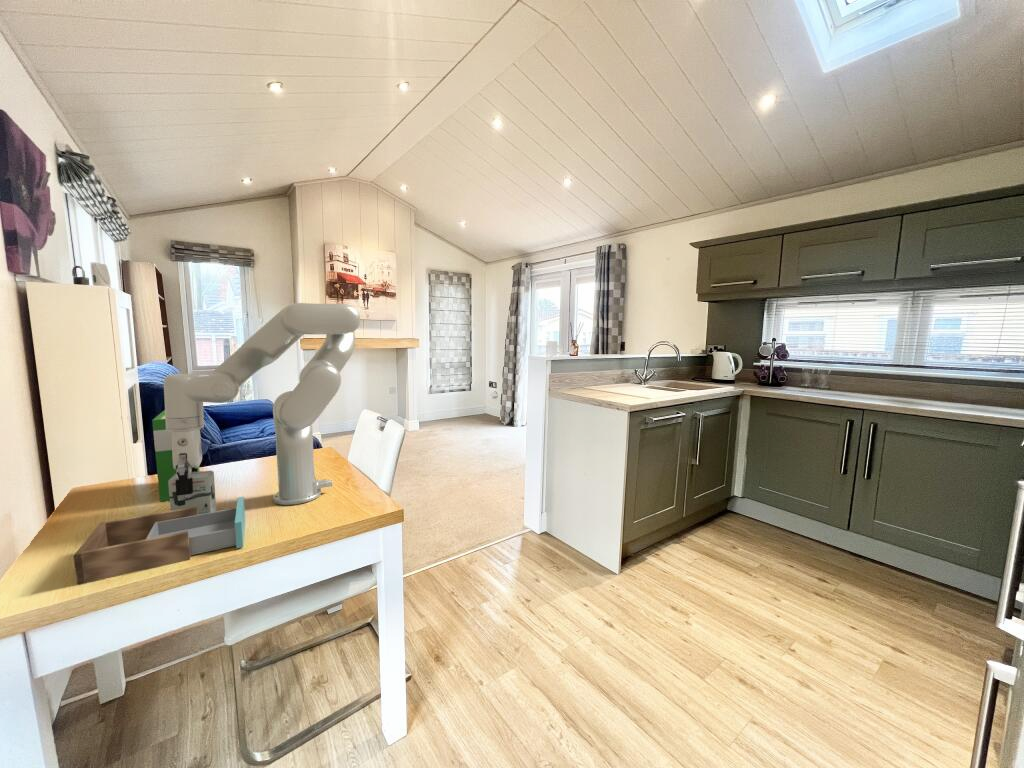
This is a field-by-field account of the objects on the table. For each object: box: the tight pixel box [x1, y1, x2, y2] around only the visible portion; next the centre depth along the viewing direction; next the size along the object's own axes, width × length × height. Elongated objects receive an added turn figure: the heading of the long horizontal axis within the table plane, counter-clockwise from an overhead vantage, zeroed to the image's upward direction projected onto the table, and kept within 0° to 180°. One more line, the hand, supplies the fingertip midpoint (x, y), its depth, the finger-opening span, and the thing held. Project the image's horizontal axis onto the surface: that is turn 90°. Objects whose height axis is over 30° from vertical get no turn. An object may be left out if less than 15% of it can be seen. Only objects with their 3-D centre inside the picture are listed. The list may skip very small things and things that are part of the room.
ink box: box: [168, 470, 217, 515], centre depth 104 cm, size 9×5×12 cm, turn 114°
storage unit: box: [73, 506, 198, 585], centre depth 87 cm, size 17×16×6 cm
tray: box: [146, 496, 246, 556], centre depth 92 cm, size 17×16×6 cm
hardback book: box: [151, 409, 200, 503], centre depth 122 cm, size 18×7×24 cm, turn 32°
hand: (187, 488), depth 103 cm, fingers open, 9 cm apart
